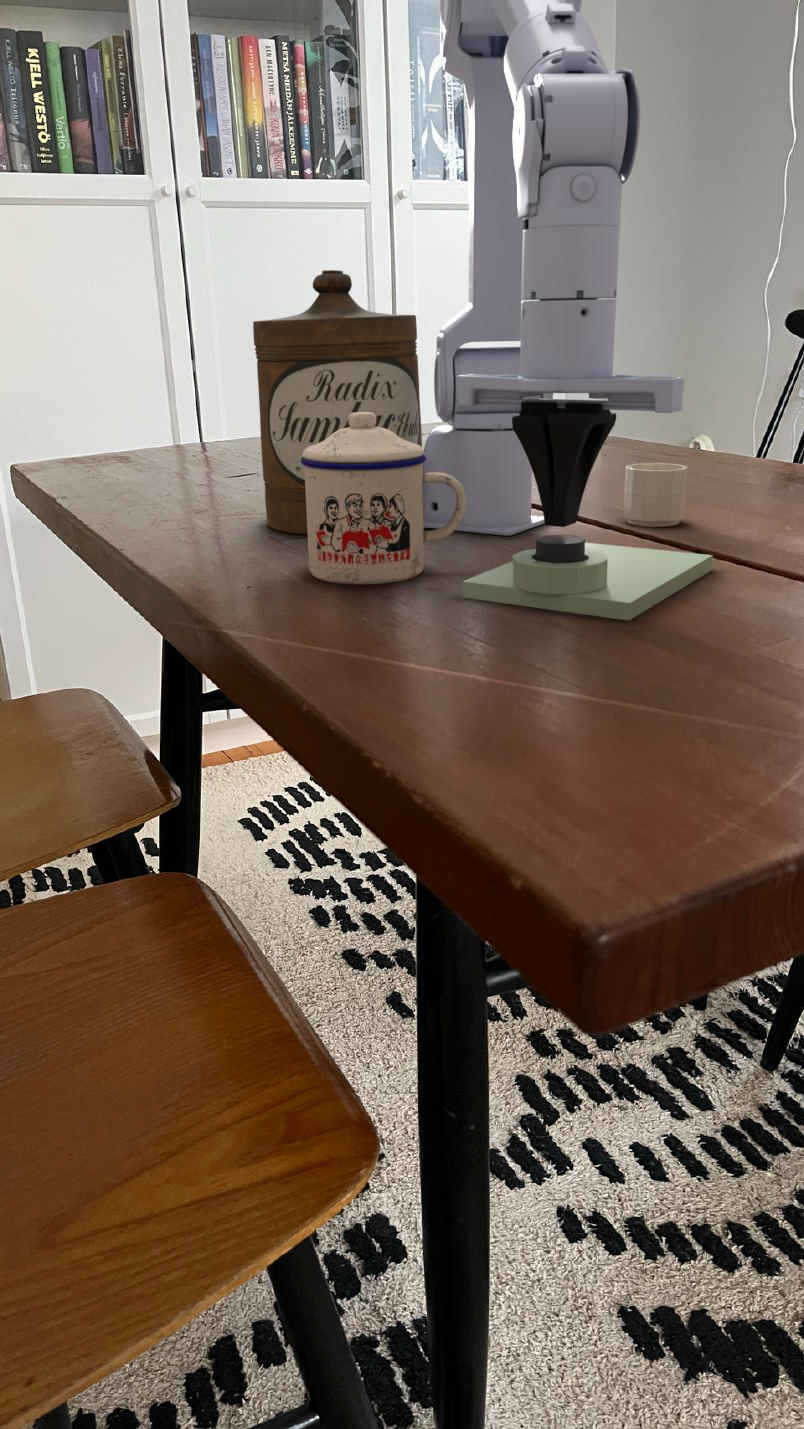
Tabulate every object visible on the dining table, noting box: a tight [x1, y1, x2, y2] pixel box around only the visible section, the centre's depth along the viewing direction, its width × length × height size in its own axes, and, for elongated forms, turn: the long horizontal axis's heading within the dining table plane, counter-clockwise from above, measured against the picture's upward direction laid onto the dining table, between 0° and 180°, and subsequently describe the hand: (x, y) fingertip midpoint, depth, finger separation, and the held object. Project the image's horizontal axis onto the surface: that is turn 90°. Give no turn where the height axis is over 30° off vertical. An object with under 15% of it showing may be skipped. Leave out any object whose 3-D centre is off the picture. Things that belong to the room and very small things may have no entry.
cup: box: [622, 462, 689, 528], centre depth 96 cm, size 5×6×5 cm
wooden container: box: [252, 269, 423, 536], centre depth 96 cm, size 15×15×22 cm
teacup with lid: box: [301, 412, 466, 586], centre depth 78 cm, size 12×9×12 cm
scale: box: [461, 541, 714, 621], centre depth 74 cm, size 16×12×3 cm
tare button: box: [535, 534, 586, 563], centre depth 70 cm, size 3×3×2 cm
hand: (560, 524), depth 69 cm, fingers closed
